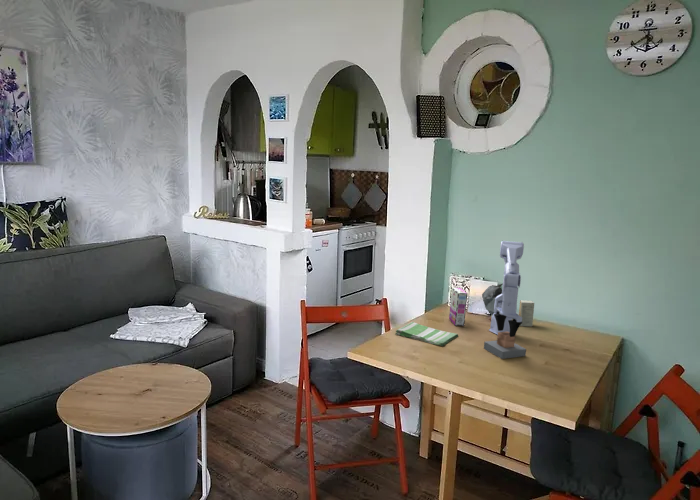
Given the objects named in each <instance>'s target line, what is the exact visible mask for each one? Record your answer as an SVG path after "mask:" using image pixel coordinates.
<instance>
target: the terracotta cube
mask: <svg viewBox="0 0 700 500" xmlns="http://www.w3.org/2000/svg"><path fill="white" fill-rule="evenodd" d="M496 340H497V344H498V345H500V346H502V347H504V348H508V347H514V343H515V342H516V336H515V337H510V332H498V335H497V337H496ZM515 344H516V343H515Z"/></svg>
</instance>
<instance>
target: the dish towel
mask: <svg viewBox="0 0 700 500" xmlns="http://www.w3.org/2000/svg"><path fill="white" fill-rule="evenodd" d="M395 335H398V336H402V337H405V338H409V339H413V340H417V341H421V342H424V343H427V344H430V345H431V344H432V345H435V346H441V347H443V346H445V345H446V344H448V343H449V342H450V341H452V340H453V339H456V338H458V337H459V334H458V333H456V332H449V331H444V330H440V329H437V328H433V327H430V326H426V325H424V324H423V325H422V324H420V323H417V322H414V321H411V322H410V323H407V324H406V325H404V326H402V327H400V328H398V329H396V330H395Z"/></svg>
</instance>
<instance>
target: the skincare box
mask: <svg viewBox="0 0 700 500" xmlns="http://www.w3.org/2000/svg"><path fill="white" fill-rule="evenodd" d="M534 311H535V302H534V301H533V300H526V299H525V300H524V299H522V300H519V309H518V315H519V316H520V317H522V324H521V325H520V326H519V327H533V321H534Z"/></svg>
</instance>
